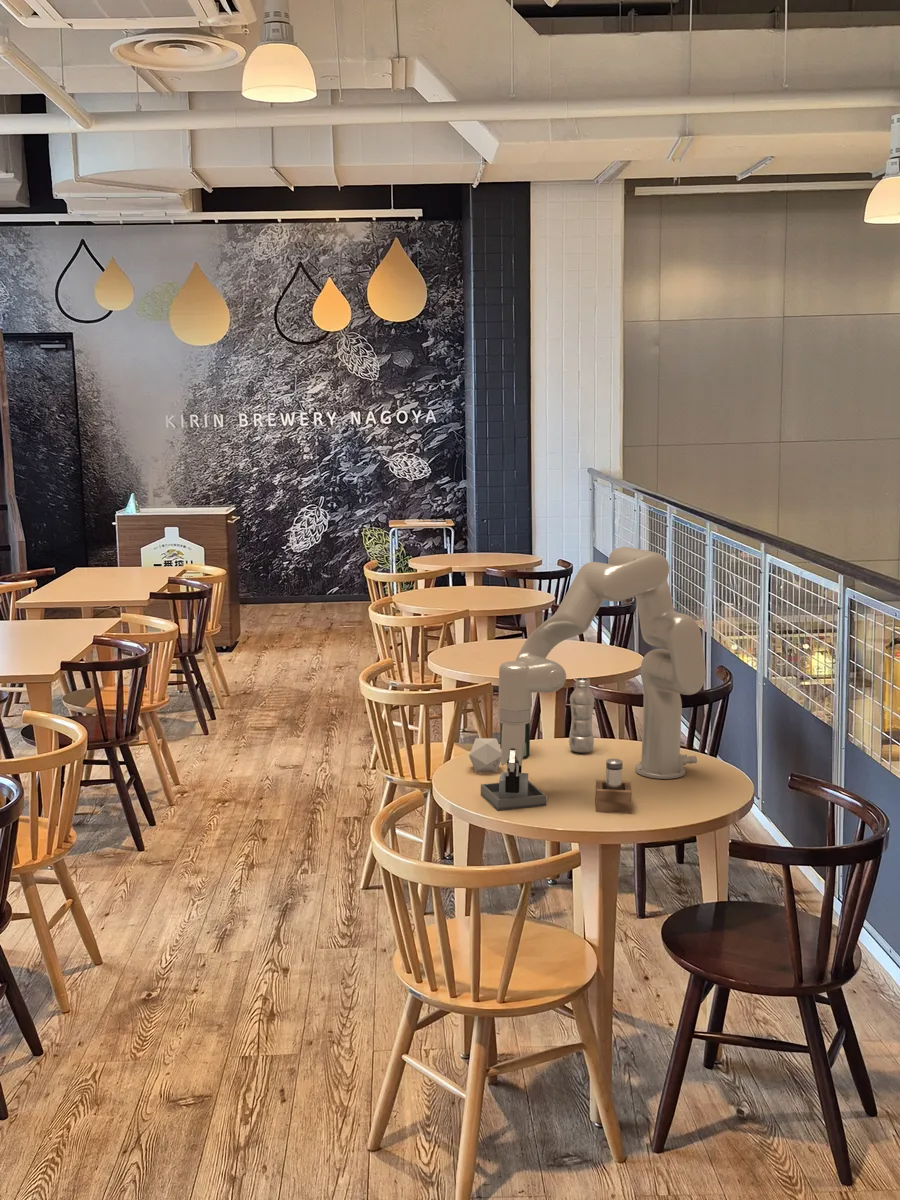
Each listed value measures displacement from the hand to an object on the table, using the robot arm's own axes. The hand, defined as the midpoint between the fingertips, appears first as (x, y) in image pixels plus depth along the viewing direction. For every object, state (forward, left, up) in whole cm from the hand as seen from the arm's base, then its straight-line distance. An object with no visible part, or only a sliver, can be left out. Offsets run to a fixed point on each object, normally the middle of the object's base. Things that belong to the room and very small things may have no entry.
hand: (513, 785), depth 272 cm
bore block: (-20, +11, -4) cm, 24 cm away
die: (-2, -23, -4) cm, 24 cm away
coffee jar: (-14, -34, -4) cm, 37 cm away
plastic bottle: (-32, -31, -4) cm, 45 cm away
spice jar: (-21, +11, -4) cm, 24 cm away
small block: (0, 0, -3) cm, 3 cm away
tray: (0, 0, -4) cm, 4 cm away
